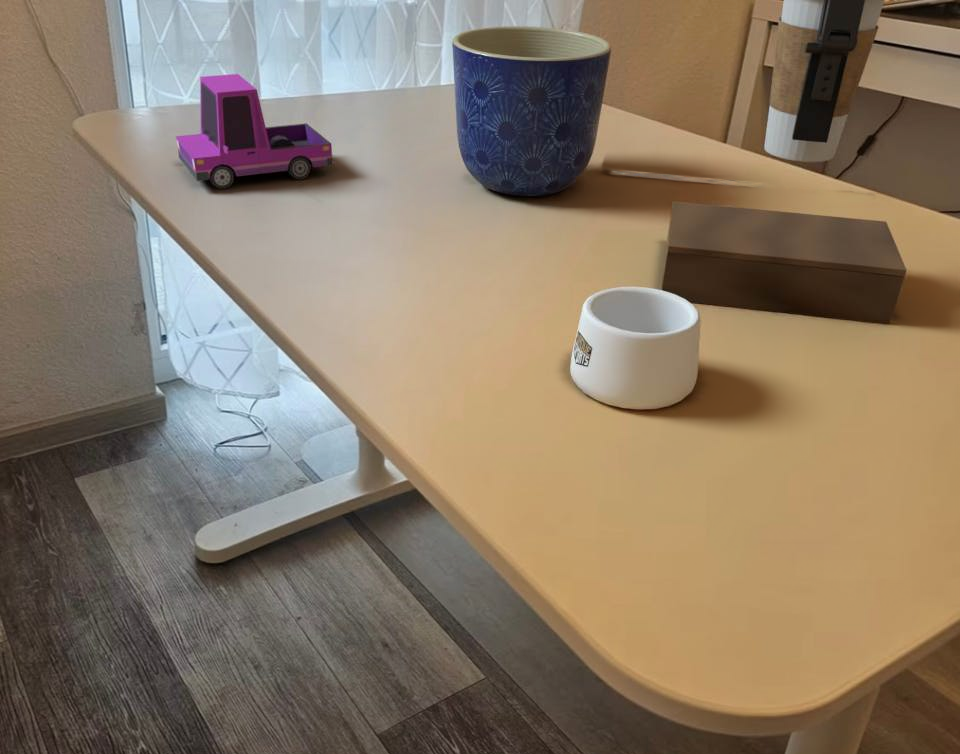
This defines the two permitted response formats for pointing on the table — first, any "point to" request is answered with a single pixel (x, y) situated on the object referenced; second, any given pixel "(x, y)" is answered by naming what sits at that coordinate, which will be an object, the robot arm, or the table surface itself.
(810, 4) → the coffee cup
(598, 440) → the table surface
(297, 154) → the toy truck
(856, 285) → the dark wooden box
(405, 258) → the table surface
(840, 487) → the table surface
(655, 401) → the mug
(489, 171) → the planter
